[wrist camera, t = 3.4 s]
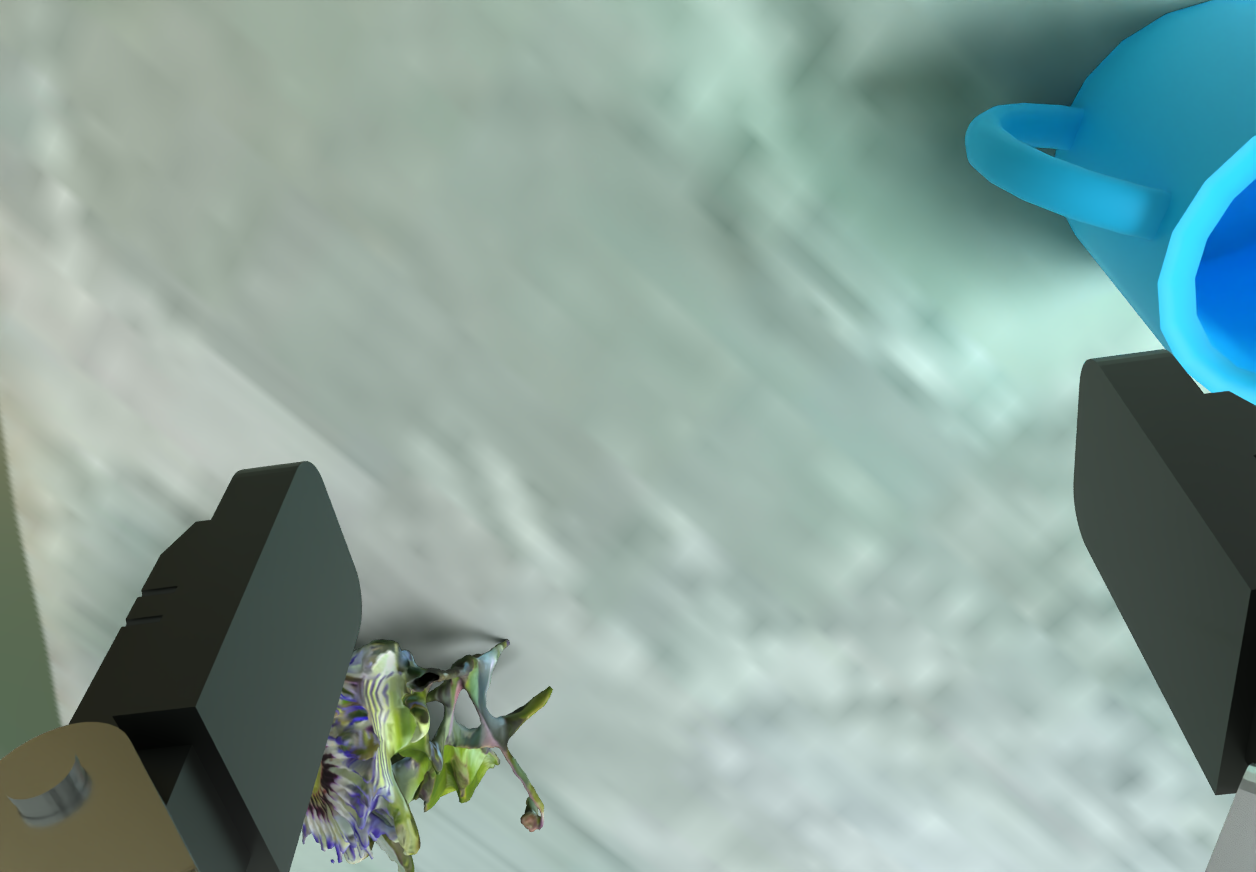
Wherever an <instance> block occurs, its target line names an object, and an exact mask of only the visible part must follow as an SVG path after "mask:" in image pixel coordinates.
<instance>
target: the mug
mask: <svg viewBox="0 0 1256 872" xmlns="http://www.w3.org/2000/svg"><path fill="white" fill-rule="evenodd" d="M965 146H966V153H967V158H968V161H969V163H970V164H971V165H972V167H973V168H975V169H976V170H977V171H978V172H979V173H980V174H981V175H982V176H984V177H985V178H986V179H987V180H988V181H989V182H990V183H992V184H994V185H996V186H998V187H999V188H1001V189H1003V190H1005V191H1007V192H1009V193H1011V194H1013V195H1014V196H1016V197H1018V198H1020V199H1022V200H1024V201H1026V202H1029V203H1031V204H1034V205H1036V206H1039V207H1041V208H1044V209H1047V210H1049V211H1052V212H1054V213H1057V214H1059V215H1062V216H1064V217H1066V219H1067V221H1068V222H1069V224H1070V226H1071V228H1072V230H1073V232H1074V234H1075V235H1076V237H1077V238H1078V239H1079V240H1080V242H1081V243H1082V244H1083V245H1084V247H1085V248H1086V249H1087V251H1088V252H1089V253H1090V254H1091V256H1092V257H1093V258H1094V259H1095V261H1096V262H1097V263H1098V264H1099V266H1100V267H1101V268H1102V269H1103V271H1104V272H1105V273H1106V274H1107V276H1108V277H1109V278H1110V279H1111V281H1112V282H1113V283H1114V285H1115V286H1116V287H1117V288H1118V290H1119V291H1120V292H1121V293H1122V295H1123V296H1124V297H1125V298H1126V300H1127V301H1128V302H1129V303H1130V305H1131V306H1132V307H1133V308H1134V310H1135V311H1136V312H1137V314H1138V315H1139V316H1140V317H1141V319H1142V320H1143V321H1144V322H1145V324H1146V325H1147V326H1148V327H1149V329H1150V330H1151V331H1152V332H1153V334H1154V335H1155V336H1156V337H1157V339H1158V340H1159V341H1160V343H1161V344H1162V345H1163V346H1164V348H1165V349H1166V350H1168V351H1169V352H1171V353H1172V354H1173V356H1174V357H1175V358H1176V359H1177V360H1178V362H1179V363H1180V364H1181V365H1182V367H1183V368H1184V369H1185V370H1186V372H1187V373H1188V374H1189V375H1190V376H1192V377H1193V378H1194V379H1195V380H1197V381H1198V382H1199V383H1200V384H1202V385H1203V386H1204V387H1205V388H1206V389H1208V390H1209V391H1210V392H1211V393H1215V392H1223V391H1230V392H1232V393H1234V394H1236V395H1238V396H1239V397H1241V398H1243V399H1245V400H1247V401H1248V402H1250V403H1252V404H1254V405H1256V0H1211V1H1207V2H1204V3H1201V4H1197V5H1194V6H1190V7H1187V8H1184V9H1180V10H1177V11H1173V12H1170V13H1167V14H1165V15H1163V16H1162V17H1160V18H1158V19H1157V20H1155V21H1153V22H1152V23H1150V24H1149V25H1147V26H1145V27H1144V28H1142V29H1141V30H1139V31H1137V32H1136V33H1134V34H1132V35H1131V36H1129V37H1128V38H1126V39H1124V40H1123V41H1121V42H1120V43H1119V45H1118V46H1117V47H1116V48H1115V49H1114V50H1113V51H1112V52H1111V53H1110V54H1109V55H1108V56H1107V57H1106V58H1105V59H1104V60H1103V61H1102V62H1101V63H1100V64H1099V65H1098V66H1097V67H1096V68H1095V69H1094V70H1093V72H1092V73H1091V74H1090V75H1089V76H1088V77H1087V78H1086V79H1085V81H1084V83H1083V85H1082V87H1081V88H1080V90H1079V92H1078V94H1077V96H1076V97H1075V99H1074V101H1073V103H1072V105H1071V106H1063V105H1051V104H1034V103H1017V104H1006V105H998V106H995V107H992V108H990V109H988V110H987V111H985V112H983V113H981V114H979V115H978V116H977V117H975V118H974V119H973V120H972V122H971V123H970V124H969V126H968V129H967V131H966V135H965ZM1036 148H1052V149H1056V153H1055V157H1053V156H1050V155H1048V154H1046V153H1044V152H1042V151H1040V150H1038V149H1036Z"/></svg>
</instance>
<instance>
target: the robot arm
mask: <svg viewBox="0 0 1256 872" xmlns="http://www.w3.org/2000/svg"><path fill="white" fill-rule="evenodd" d="M1074 504H1075V511H1076V516H1077V521H1078V525H1079V529H1080V532H1081V535H1082V538H1083V541H1084V543H1085V545H1086V547H1087V549H1088V551H1089V553H1090V555H1091V557H1092V559H1093V561H1094V563H1095V565H1096V567H1097V569H1098V571H1099V572H1100V574H1101V576H1102V578H1103V580H1104V582H1105V584H1106V586H1107V588H1108V590H1109V592H1110V594H1111V596H1112V597H1113V599H1114V601H1115V603H1116V605H1117V607H1118V609H1119V611H1120V613H1121V615H1122V617H1123V619H1124V621H1125V622H1126V624H1127V626H1128V628H1129V630H1130V632H1131V634H1132V636H1133V638H1134V640H1135V642H1136V644H1137V646H1138V647H1139V649H1140V651H1141V653H1142V655H1143V657H1144V659H1145V661H1146V663H1147V665H1148V667H1149V669H1150V670H1151V672H1152V674H1153V676H1154V678H1155V680H1156V682H1157V684H1158V686H1159V688H1160V690H1161V692H1162V694H1163V695H1164V697H1165V699H1166V701H1167V703H1168V705H1169V707H1170V709H1171V711H1172V713H1173V715H1174V717H1175V719H1176V720H1177V722H1178V724H1179V726H1180V728H1181V730H1182V732H1183V734H1184V736H1185V738H1186V740H1187V742H1188V744H1189V745H1190V747H1191V749H1192V751H1193V753H1194V755H1195V757H1196V759H1197V761H1198V763H1199V765H1200V767H1201V769H1202V770H1203V772H1204V774H1205V776H1206V778H1207V780H1208V782H1209V784H1210V786H1211V788H1212V790H1213V792H1214V793H1215V795H1222V794H1232V793H1236V795H1235V798H1234V800H1233V803H1232V805H1231V808H1230V810H1229V813H1228V815H1227V818H1226V820H1225V823H1224V825H1223V828H1222V830H1221V833H1220V835H1219V838H1218V840H1217V843H1216V845H1215V848H1214V850H1213V853H1212V855H1211V858H1210V860H1209V863H1208V865H1207V868H1206V870H1205V872H1256V405H1254V404H1252V403H1250V402H1248V401H1247V400H1245V399H1243V398H1241V397H1239V396H1238V395H1236V394H1234V393H1232V392H1230V391H1223V392H1215V393H1207V394H1204V393H1203V392H1202V391H1201V389H1200V388H1199V387H1198V386H1197V384H1196V383H1195V382H1194V381H1193V379H1192V378H1191V377H1190V376H1189V374H1188V373H1187V372H1186V370H1185V369H1184V368H1183V367H1182V365H1181V364H1180V363H1179V362H1178V360H1177V359H1176V358H1175V357H1174V356H1173V354H1172V353H1171V352H1169V351H1168V350H1164V349H1162V350H1154V351H1147V352H1139V353H1131V354H1124V355H1116V356H1109V357H1101V358H1094V359H1089V360H1087V361H1086V362H1085V363H1084V365H1083V368H1082V371H1081V376H1080V385H1079V401H1078V418H1077V434H1076V451H1075V467H1074ZM141 591H142V597H138V598H137V599H136V601H135V603H134V605H133V607H132V609H131V610H130V612H129V614H128V616H127V618H126V626H125V627H121V629H120V631H119V633H118V634H117V636H116V638H115V640H114V642H113V644H112V645H111V647H110V649H109V651H108V653H107V655H106V656H105V658H104V660H103V662H102V664H101V666H100V668H99V669H98V671H97V673H96V675H95V677H94V679H93V680H92V682H91V684H90V686H89V688H88V690H87V692H86V693H85V695H84V697H83V699H82V701H81V703H80V704H79V706H78V708H77V710H76V712H75V714H74V715H73V717H72V719H71V721H70V723H69V725H66V726H62V727H58V728H56V729H53V730H50V731H48V732H45V733H43V734H41V735H39V736H37V737H34V738H32V739H31V740H29V741H27V742H25V743H24V744H22V745H20V746H19V747H17V748H15V749H14V750H13V751H11V752H10V753H9V754H7V755H6V756H5V757H3V758H2V759H1V760H0V872H289V871H290V867H291V864H292V860H293V857H294V853H295V850H296V847H297V843H298V840H299V836H300V833H301V829H302V826H303V822H304V819H305V816H306V812H307V809H308V805H309V802H310V798H311V795H312V791H313V788H314V785H315V781H316V778H317V774H318V771H319V767H320V764H321V760H322V757H323V754H324V750H325V747H326V743H327V740H328V736H329V733H330V729H331V726H332V723H333V719H334V716H335V712H336V709H337V705H338V702H339V698H340V695H341V692H342V688H343V685H344V681H345V678H346V674H347V671H348V668H349V664H350V661H351V657H352V654H353V650H354V647H355V643H356V640H357V637H358V633H359V629H360V624H361V615H362V600H361V590H360V584H359V579H358V575H357V572H356V569H355V566H354V563H353V560H352V558H351V555H350V552H349V550H348V547H347V544H346V542H345V539H344V536H343V534H342V531H341V528H340V525H339V523H338V520H337V517H336V515H335V512H334V509H333V507H332V504H331V501H330V499H329V496H328V493H327V491H326V488H325V485H324V482H323V480H322V478H321V475H320V473H319V472H318V470H317V468H316V467H315V466H314V465H313V464H312V463H311V462H308V461H303V462H296V463H288V464H281V465H273V466H266V467H258V468H251V469H243V470H240V471H238V472H237V473H235V475H234V476H233V478H232V480H231V481H230V483H229V485H228V487H227V489H226V491H225V493H224V495H223V497H222V499H221V501H220V503H219V505H218V507H217V509H216V511H215V513H214V515H213V517H212V519H211V520H206V521H199V522H195V523H194V524H193V525H192V526H191V527H190V528H189V529H188V530H187V531H186V532H185V533H183V534H182V535H181V536H180V537H179V538H178V539H177V540H176V541H175V542H174V543H173V544H172V545H171V546H170V547H169V548H168V549H166V550H165V551H164V552H163V553H162V554H161V555H160V557H159V559H158V561H157V562H156V564H155V566H154V568H153V570H152V572H151V574H150V575H149V577H148V579H147V581H146V583H145V585H144V586H143V588H142V590H141Z"/></svg>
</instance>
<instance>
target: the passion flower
mask: <svg viewBox="0 0 1256 872" xmlns="http://www.w3.org/2000/svg"><path fill="white" fill-rule="evenodd" d="M508 645H510V642H509V640H508V639H506V640H505V641H504V642H502V643H499V644H497V645H496V646H495V647H494V648H492V649H491V650H490V651H489V652H486V653H485V654H482V655H481V654H476V655H473V656H471V655H466V656H464V657H463V658H462V659H459V660H457V661H456V662H455V663H454V664H453V665H452V667H451V669H449V670H447V671H443V670H440V669H434V668H428V669H425V668H421V667H419V666H417V665H416V664H415V662H414V658H413V656H412V654H411V652H410V651H408V650H403V651H401V649H400V646H399V644H398V643H397V642H395V641H391V640H383V639H381V640H374V641H371V642H370V643H369V644H367V645H365V646H363V647H362V648H359V649H358V650H356V651H354V652H353V654H352V657H351V661H350V664H349V668H348V671H347V674H346V678H345V681H344V685H343V688H342V692H341V695H340V698H339V702H338V705H337V709H336V712H335V716H334V719H333V723H332V726H331V729H330V733H329V736H328V740H327V743H326V747H325V750H324V754H323V757H322V760H321V764H320V767H319V771H318V774H317V778H316V781H315V785H314V788H313V791H312V795H311V798H310V802H309V805H308V809H307V812H306V816H305V819H304V822H303V826H302V832H303V840H302V842H303V844H305V839H306V837H307V836H308V835H309V834H310V833H312V834H313V836H314V838H315V840H316V842H317V843H320V844H321V849H322V850H323V851H326V850H327V848H328V849H332V848H333V847H334V846H335V848H336V852H337V856H338V863H340V862H342V854H344V856H345V859H346V861H347V862H348V863H349V864H355V863H359V862H360V861H362V860H363V859H365V858H366V857H368V856H370V857H371V859H373V854H372V852H371V850H372V848H373V844H374V842H376V843H377V844H378V845H379V846H380V848H381V849H382V850H384V851H385V852H386V853H387V855H388V856H389V858H390V860H391V861H395V862H396V863H397V864H398V871H399V872H414V863H413V859H412V855H413V854H414V855H415V854H416V853H417V852H418V850H419V849H420V837H419V833H418V829H417V826H416V823H415V820H414V818H413V815H412V813H411V811H410V807H409V803H410V802H411V801H412V800H414V799H415V800H417V799H418V798H421V799H422V800H424V805H425V806H424V812H426V811H428V810H429V809H431V808H432V807H433V806H434V805H435V804H436V802H437V801H438V800H439V798H440V797H442V796H444V795H446V794H448V793H450V792H453V791H457V793H458V797H459V802H460V803H464V802H467V801H469V800H470V798H471V797H472V795H473V793H474V790H475V788H476V787H477V786H478V784H479V783H480V781H481V779H482V777H483V776H484V775H485V773H486V771H487V770H488V769H489V768H494V766H495V764H496V765H499V764H500V760H499V758H498V757H497V755H496V754H495V753H494V752H493V751H492V750H490V748H493V747H498V748H500V749H501V751H502V753H503V754H504V756H505V758H506V760H507V761H508V763H509V764H510V766H511V767H512V769H513V772H514V774H515V775H516V776H517V777H518V778H519V779H520V780H521V781H522V783H523V785H524V787H525V789H526V790H527V792H528V794H529V797H528V798H527V800H526V805H527V806H526V809H525V814H524V815H522V817H521V823H522V824H523V825H524V826H525V828H527V829H529V831H530V832H533V831H534V830H536V829H541V828H542V826H543V824H544V805H543V803H542V801H541V800H540V798H539V797H538V795H537V793H536V791H535V789H534V787H533V786H532V785H531V783H530V782H529V780H528V778H527V776H526V774H525V773H524V771H523V770H522V769H521V767H520V766H519V764H518V763H517V762H516V759H514V757H513V756H512V755H511V754H510V752H509V750H508V747H507V743H508V740H509V738H510V737H511V736H512V735H513V734H514V733H515V732H516V731H517V730H518V729H519V727H520V726H521V725H522V724H523V723H524V722H525V721H526V720H527V719H529V718H530V717H531V716H532V715H533V714H535V713H536V712H537V711H538V710H539V709H541V708H542V707H543V706H544V705H545V704H546V703H547V701H548V699H549V697H550V695H551V693H552V690H553V689H552V688H551V687H550V686H549V687H548V688H547V689H546V690H544V691H542V692H541V693H539V694H538V695H536V696H535V697H533V698H532V699H531V700H530V701H529V702H528V703H527V704H525V705H524V706H522V707H520V708H518V709H517V710H515V711H514V712H512V713H510V714H508V715H506V716H501V717H498V718H495V717H493V716H492V715H491V714H490V713H489V712H488V710H487V708H486V693H487V690H488V688H489V686H490V683H491V676H492V672H493V670H494V667H495V665H496V663H497V660H498V658H499V656H500V654H501V652H502V651H503V650H504V649H505V648H506V647H507V646H508ZM443 680H445V681H444V682H443V683H442V684H441V685H440V686H438V687H436V688H435V689H434V690H432V691H431V692H429V693H428V691H429V689H430V686H431V685H432V683H433V682H436V681H438V682H441V681H443ZM462 689H465V690H466V691H467V692H468V694H469V697H470V699H471V700H472V702H473V704H474V705H475V708H476V710H477V712H478V715H479V717H480V721H481V725H480V726H479V727H478V728H472V729H468V728H466V727H465V726H463V725H461V724H459V723H457V722H456V720H455V717H454V708H455V704H456V701H457V698H458V695H459V693H460V691H461V690H462ZM412 691H413V693H412ZM431 701H438V702H441V703H442V704H443V705H444V718H443V720H442V723H441V725H440V727H439V729H438V731H437V732H436V734H435V736H434V738H433V739H432V741H431V742H430V741H429V734H428V730H429V725H430V716H429V712H428V709H427V705H426V703H427V702H431ZM538 809H539V810H540V813H541V817H540V816H538ZM331 862H332V863H334V862H335V861H334V860H333V859H332V860H331Z"/></svg>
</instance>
